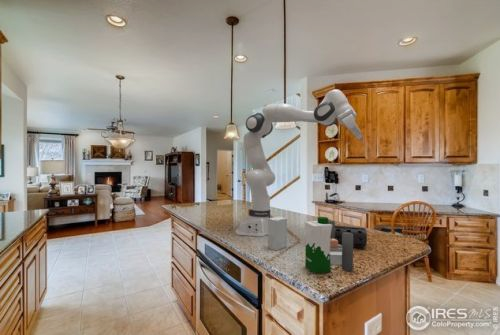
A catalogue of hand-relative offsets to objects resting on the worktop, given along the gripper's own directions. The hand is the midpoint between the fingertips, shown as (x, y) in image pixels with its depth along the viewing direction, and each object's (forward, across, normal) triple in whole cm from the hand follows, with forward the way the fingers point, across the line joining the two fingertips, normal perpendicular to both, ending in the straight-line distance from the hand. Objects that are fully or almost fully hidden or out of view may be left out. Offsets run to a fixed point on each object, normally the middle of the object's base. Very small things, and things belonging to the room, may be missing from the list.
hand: (360, 139), depth 117 cm
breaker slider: (+40, +21, -31) cm, 55 cm away
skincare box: (+31, +21, -57) cm, 68 cm away
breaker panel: (+43, +20, -34) cm, 59 cm away
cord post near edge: (+47, +30, -27) cm, 62 cm away
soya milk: (+42, +36, -36) cm, 66 cm away
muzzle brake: (+42, 0, -36) cm, 56 cm away
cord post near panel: (+42, +10, -36) cm, 56 cm away
